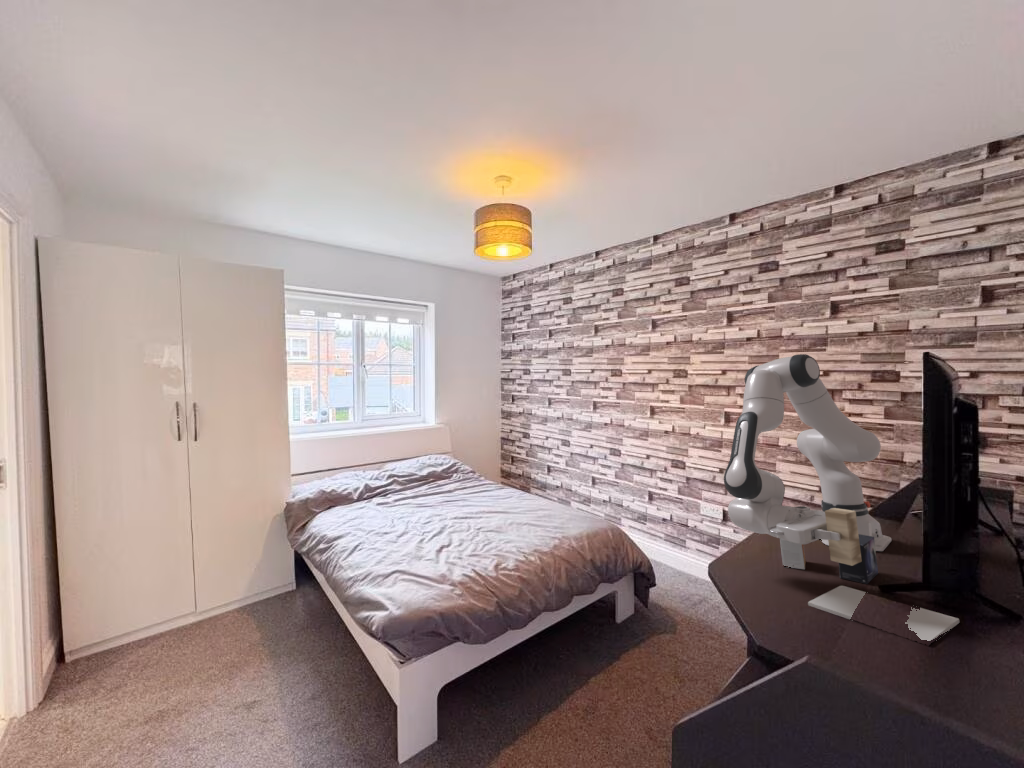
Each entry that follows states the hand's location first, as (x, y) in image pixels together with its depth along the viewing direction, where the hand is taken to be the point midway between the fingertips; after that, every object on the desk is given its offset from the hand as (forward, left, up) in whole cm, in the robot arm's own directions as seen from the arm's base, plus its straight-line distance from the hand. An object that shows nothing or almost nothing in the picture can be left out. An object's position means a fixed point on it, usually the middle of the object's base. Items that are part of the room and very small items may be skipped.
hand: (847, 534), depth 102 cm
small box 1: (-16, -23, -17) cm, 33 cm away
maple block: (0, -1, -6) cm, 7 cm away
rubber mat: (0, +4, -17) cm, 17 cm away
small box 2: (-20, -8, -17) cm, 28 cm away
